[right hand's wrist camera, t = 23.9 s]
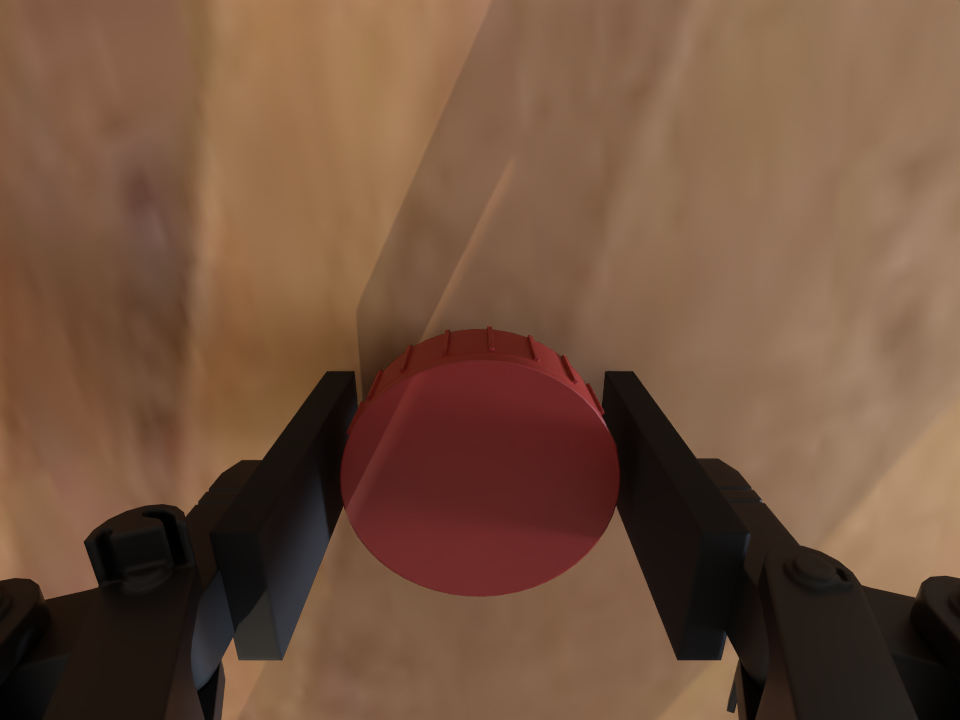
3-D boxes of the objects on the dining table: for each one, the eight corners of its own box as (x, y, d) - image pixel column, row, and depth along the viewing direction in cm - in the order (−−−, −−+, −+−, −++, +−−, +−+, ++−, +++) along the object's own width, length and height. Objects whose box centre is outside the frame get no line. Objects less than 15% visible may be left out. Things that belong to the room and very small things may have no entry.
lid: (341, 517, 14) (320, 574, 12) (378, 299, 12) (359, 327, 10) (561, 557, 14) (574, 617, 12) (635, 357, 12) (665, 393, 10)
